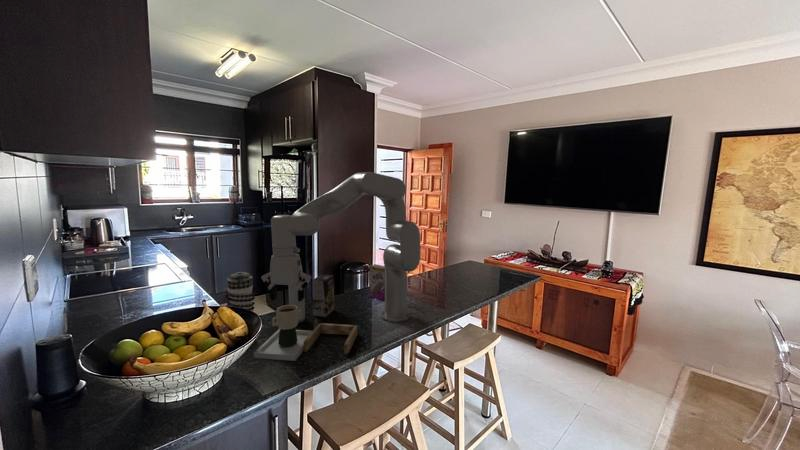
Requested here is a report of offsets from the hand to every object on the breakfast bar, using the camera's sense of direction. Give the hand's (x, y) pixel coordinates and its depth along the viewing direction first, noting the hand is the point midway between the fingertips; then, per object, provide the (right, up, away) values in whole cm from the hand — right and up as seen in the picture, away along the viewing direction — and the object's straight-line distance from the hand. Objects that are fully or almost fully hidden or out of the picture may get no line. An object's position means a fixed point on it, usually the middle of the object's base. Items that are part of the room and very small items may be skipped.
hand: (287, 299), depth 113 cm
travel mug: (-4, -14, +23) cm, 27 cm away
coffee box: (+5, -13, +32) cm, 35 cm away
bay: (+14, -17, +4) cm, 22 cm away
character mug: (0, -16, +2) cm, 16 cm away
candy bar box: (+29, -11, +52) cm, 60 cm away
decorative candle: (-18, -16, +4) cm, 24 cm away
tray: (-1, -17, +2) cm, 17 cm away
